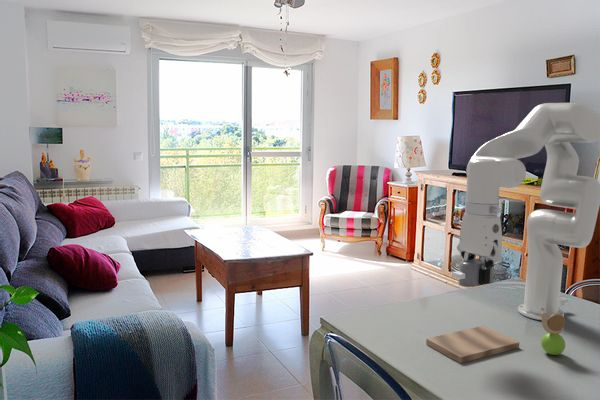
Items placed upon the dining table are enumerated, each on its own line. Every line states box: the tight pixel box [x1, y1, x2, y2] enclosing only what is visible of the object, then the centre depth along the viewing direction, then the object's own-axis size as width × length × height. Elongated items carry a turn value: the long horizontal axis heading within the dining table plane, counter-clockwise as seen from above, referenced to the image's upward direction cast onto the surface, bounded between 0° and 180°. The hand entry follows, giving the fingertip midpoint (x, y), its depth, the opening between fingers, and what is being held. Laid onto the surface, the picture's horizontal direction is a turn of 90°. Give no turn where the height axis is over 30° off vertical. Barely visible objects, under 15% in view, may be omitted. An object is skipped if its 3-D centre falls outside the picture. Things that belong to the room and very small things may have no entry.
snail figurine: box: [540, 307, 566, 356], centre depth 129 cm, size 5×6×12 cm
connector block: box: [451, 257, 495, 288], centre depth 130 cm, size 12×4×6 cm, turn 118°
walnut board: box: [425, 325, 520, 364], centre depth 134 cm, size 20×12×2 cm, turn 118°
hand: (476, 280), depth 131 cm, fingers closed on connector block, 4 cm apart
